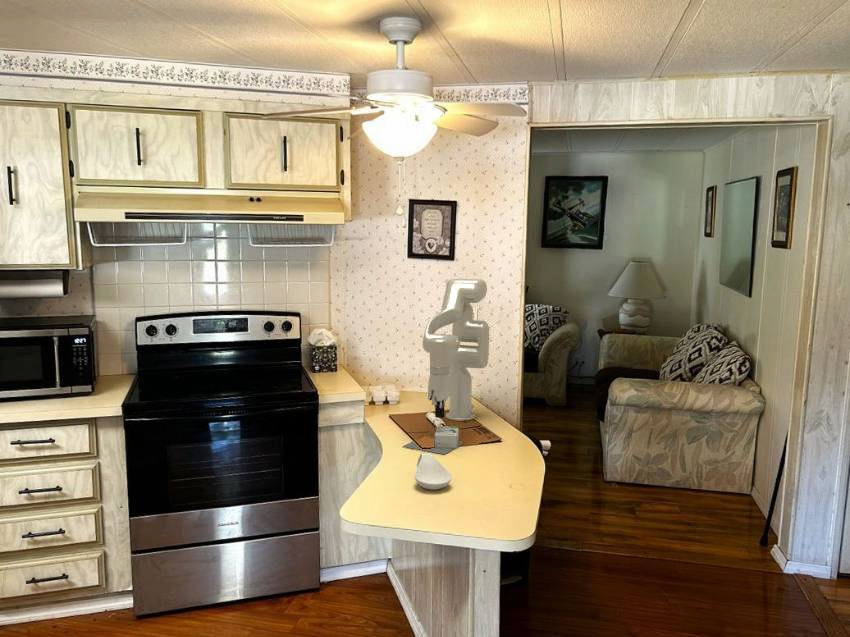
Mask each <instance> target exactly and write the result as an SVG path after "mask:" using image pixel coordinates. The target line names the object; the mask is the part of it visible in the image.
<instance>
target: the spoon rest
mask: <svg viewBox="0 0 850 637" xmlns="http://www.w3.org/2000/svg"><path fill="white" fill-rule="evenodd" d="M414 480H415V482H416V483H417V484H418V485H419V486H420V487H422V488H424V489H426V490H432V491H433V490H434V491H435V490H441V489H443V488H445V487H447V486H448V485H449V484H450V483H451V481H452V474H451V472H450V471H449V470H448V469H447V468H446V467H445V466H444V465H443V463H441V462H440V461H439V460H438V459H437V458H436V457H435V456H434V455H433V453H430V452H426V453H423V452H422V453H420V454H419V457H418V459H417V463H416V469H415V472H414Z"/></svg>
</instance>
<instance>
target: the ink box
mask: <svg viewBox="0 0 850 637" xmlns="http://www.w3.org/2000/svg"><path fill="white" fill-rule="evenodd" d="M459 428H460V427H459V426H455V425H454V426H451V425H449V426H448V425H437V426H436V429H435V430H436V431H435V433H434V437H435V439H434V447H440V448H456V449H457V444H458V441H459V438H460V430H459Z"/></svg>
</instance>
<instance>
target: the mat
mask: <svg viewBox="0 0 850 637" xmlns="http://www.w3.org/2000/svg"><path fill="white" fill-rule="evenodd" d="M429 436H430V435H429ZM429 438H433V439H435V436H430V437H429ZM463 443H464V444H465V443H466V442H465V441H460V440H458V444H457V448H460V447H461V446H462V444H463ZM464 444H463V445H464ZM460 445H461V446H460ZM403 447H406V448H405V449H409V448H412V449H411V450H414V449H417V450H416V451H419V450H422V451H421V452H425V451H428V452H427V453H430V452H432V453H431V454H435V455H436V454H437V455H442V456H446V455H448V454H449V453H452V452H453V451H454V450H456V449H457V448H440V447H435V448H431V449H422V448H420V447H419V446H418V445H417V444H416V443H414V440H412V441H411V442H408V443H407V444H404V445H402V448H403Z"/></svg>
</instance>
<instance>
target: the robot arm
mask: <svg viewBox="0 0 850 637" xmlns="http://www.w3.org/2000/svg"><path fill="white" fill-rule="evenodd" d="M487 293H488V286H487V282H486V281H485V280H484V279H479V278H478V279H477V278H451V279H449V280H448V281H446V283H445V291H444V296H443V301H442V304H441V310H440V312H438V313H436V314H435V316H433V317H432V318H431V319H430V320H429V321H428V323H427V324H426V326H425V328H424V334H423V339H422V349H423V350H424V351H425V352H426V353H429V378H428V384H427V386H428V387H427V400H428V401H431V405H432V406H434V417H435V418H438V419H444V418H447V419H448V420H451V421H456V422H458V421H459V422H461V421H464V422H465V420H466V421H471V420H474V419H475V418H476V414H475V413H474V412H473V411H472V409H474V408H475V404H473V403H472V390H473V389H472V388H473V387H472V384H473V383H472V382H473V381H472V380H473V379H472V375H471V373H470V372H469V370H468V369H469V368H470V369H484V368H487V366H488V364H489V355H490V354H489V352H490V326H489V324H488V322H487V321H484V320H479V319H478V320H476V319H475V320H474V317H473V316H474V309H473V306H472V305H471V304H478V303H480V302H481V301H482V300H484V299H485V297H486V295H487ZM449 325H452V326H451V327H452V330H451V332H452V334H446V333H445V334H444V333H436V332H437V331H438V330H439V329H441V328H443V327H446V326H449ZM461 343H475V344H477V345H470V344H467V345H464V344H461ZM448 399H449V402H448V403H449V404H448V405H449V407H448V408H449V411H448V412H446V414H445V407H446V401H448Z"/></svg>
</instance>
